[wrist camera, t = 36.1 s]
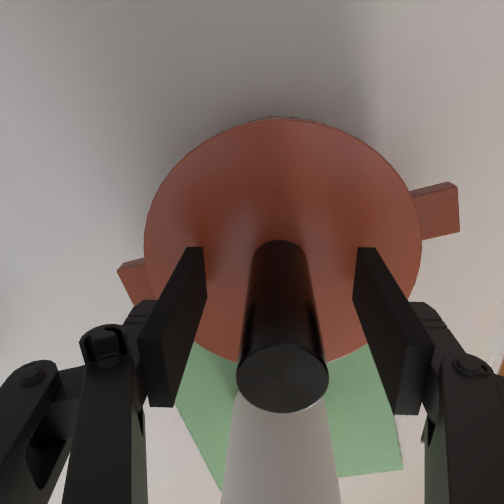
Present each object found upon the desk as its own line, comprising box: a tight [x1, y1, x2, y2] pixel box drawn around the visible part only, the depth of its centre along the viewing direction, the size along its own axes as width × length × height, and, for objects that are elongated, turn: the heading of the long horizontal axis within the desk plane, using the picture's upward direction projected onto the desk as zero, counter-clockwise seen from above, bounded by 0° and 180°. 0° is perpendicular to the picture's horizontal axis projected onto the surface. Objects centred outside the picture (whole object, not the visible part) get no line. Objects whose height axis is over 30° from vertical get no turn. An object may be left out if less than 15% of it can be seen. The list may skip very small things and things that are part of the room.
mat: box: [174, 342, 403, 492], centre depth 31 cm, size 20×18×1 cm
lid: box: [144, 118, 422, 414], centre depth 14 cm, size 13×13×9 cm
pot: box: [117, 116, 460, 306], centre depth 21 cm, size 12×18×6 cm
